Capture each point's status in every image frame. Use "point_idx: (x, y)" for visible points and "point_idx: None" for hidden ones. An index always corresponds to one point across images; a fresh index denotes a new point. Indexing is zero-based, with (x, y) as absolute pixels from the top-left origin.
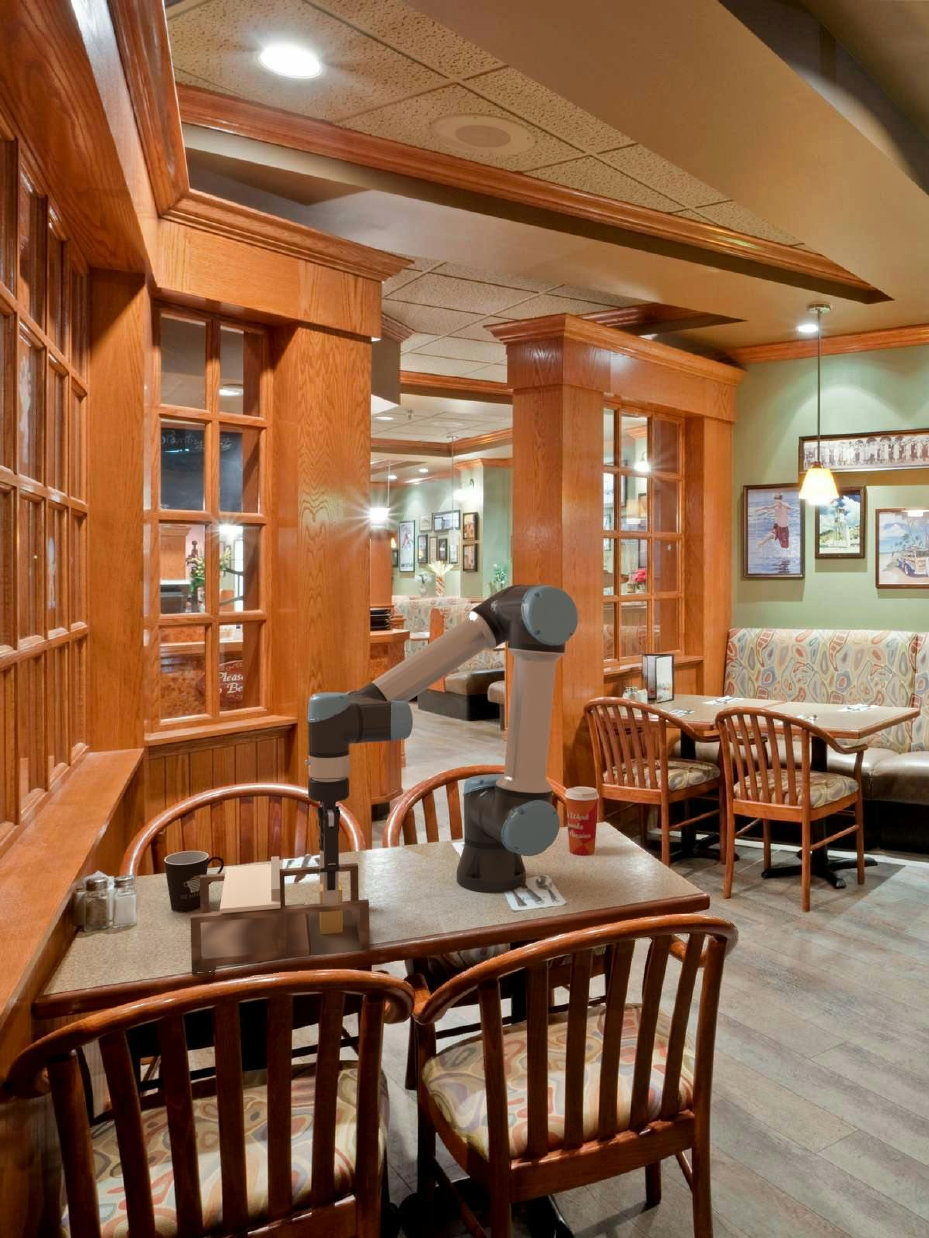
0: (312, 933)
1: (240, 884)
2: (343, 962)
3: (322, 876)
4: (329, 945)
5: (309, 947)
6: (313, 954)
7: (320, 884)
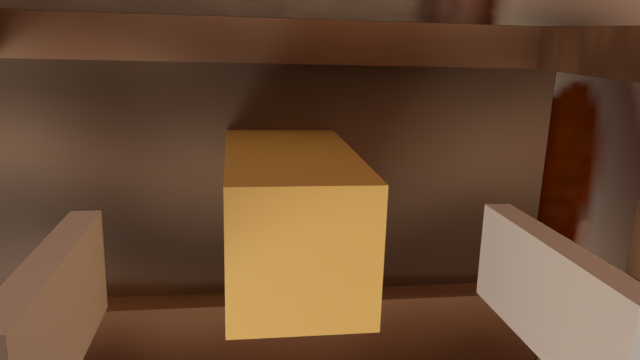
0: None
1: None
2: (559, 142)
3: (91, 321)
4: (460, 198)
5: (454, 279)
6: None
7: (239, 330)
